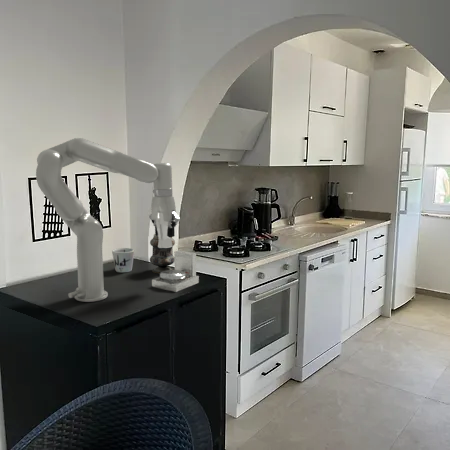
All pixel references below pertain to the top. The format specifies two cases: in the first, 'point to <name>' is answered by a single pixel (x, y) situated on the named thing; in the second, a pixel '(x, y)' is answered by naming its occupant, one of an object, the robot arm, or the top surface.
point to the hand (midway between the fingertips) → (164, 235)
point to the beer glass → (163, 231)
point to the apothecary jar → (161, 256)
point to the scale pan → (172, 274)
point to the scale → (182, 262)
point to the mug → (123, 259)
